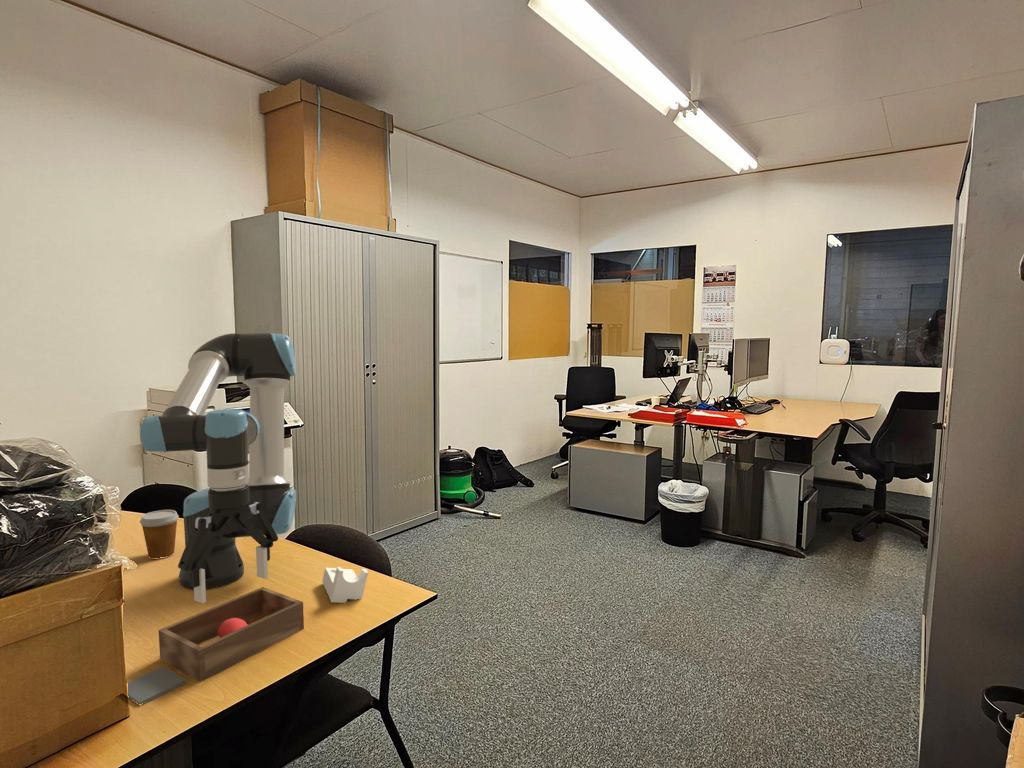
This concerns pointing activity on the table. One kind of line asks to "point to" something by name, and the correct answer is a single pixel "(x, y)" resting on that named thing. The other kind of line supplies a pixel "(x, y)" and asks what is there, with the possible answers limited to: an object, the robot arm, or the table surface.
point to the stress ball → (231, 626)
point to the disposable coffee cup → (160, 532)
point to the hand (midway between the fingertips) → (232, 588)
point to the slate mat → (153, 685)
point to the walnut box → (236, 646)
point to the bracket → (344, 584)
